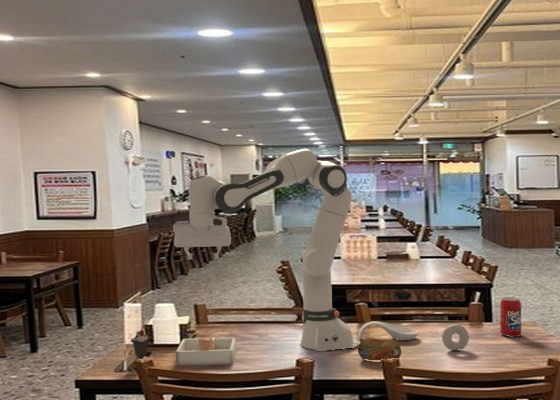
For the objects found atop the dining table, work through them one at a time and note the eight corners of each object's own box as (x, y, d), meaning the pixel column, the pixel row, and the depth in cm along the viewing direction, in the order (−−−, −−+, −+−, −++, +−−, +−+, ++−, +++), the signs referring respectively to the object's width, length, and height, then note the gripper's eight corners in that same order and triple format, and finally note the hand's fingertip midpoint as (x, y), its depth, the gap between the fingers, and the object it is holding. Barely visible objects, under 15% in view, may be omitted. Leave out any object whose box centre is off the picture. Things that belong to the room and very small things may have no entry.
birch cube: (215, 349, 217) (215, 336, 217) (214, 354, 212) (214, 340, 212) (202, 350, 217) (202, 337, 217) (200, 354, 212) (200, 341, 212)
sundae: (146, 371, 198) (145, 328, 198) (128, 370, 200) (127, 327, 199) (154, 364, 205) (153, 323, 204) (137, 364, 206) (135, 322, 205)
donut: (466, 348, 215) (466, 322, 215) (470, 351, 212) (470, 324, 211) (440, 350, 214) (440, 323, 214) (444, 352, 211) (443, 326, 210)
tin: (357, 361, 204) (357, 337, 204) (360, 358, 207) (359, 335, 207) (400, 365, 199) (400, 341, 198) (402, 362, 201) (401, 338, 201)
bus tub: (235, 350, 219) (235, 337, 219) (232, 364, 203) (232, 350, 203) (183, 351, 219) (183, 338, 219) (176, 365, 203) (175, 351, 203)
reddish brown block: (213, 355, 210) (213, 336, 210) (212, 360, 205) (211, 340, 205) (200, 356, 210) (199, 337, 210) (198, 360, 205) (197, 341, 205)
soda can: (503, 331, 237) (503, 295, 236) (523, 334, 232) (523, 297, 231) (498, 336, 230) (497, 299, 230) (518, 339, 226) (518, 301, 225)
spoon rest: (415, 335, 235) (415, 318, 235) (421, 343, 223) (421, 325, 223) (357, 335, 236) (357, 318, 236) (360, 344, 225) (359, 326, 224)
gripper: (171, 221, 202) (172, 260, 203) (229, 220, 202) (230, 259, 203) (174, 220, 208) (175, 258, 209) (230, 219, 209) (231, 257, 209)
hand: (203, 259), depth 206 cm, fingers open, 8 cm apart
